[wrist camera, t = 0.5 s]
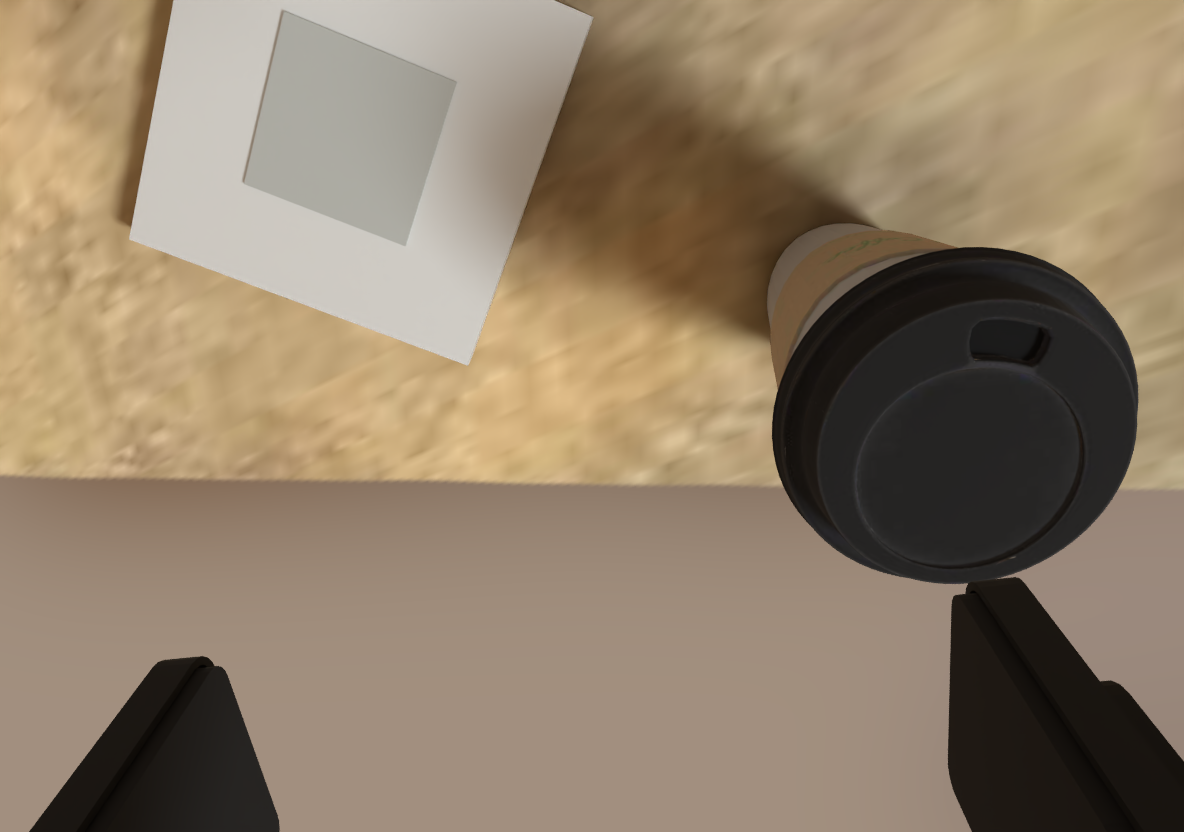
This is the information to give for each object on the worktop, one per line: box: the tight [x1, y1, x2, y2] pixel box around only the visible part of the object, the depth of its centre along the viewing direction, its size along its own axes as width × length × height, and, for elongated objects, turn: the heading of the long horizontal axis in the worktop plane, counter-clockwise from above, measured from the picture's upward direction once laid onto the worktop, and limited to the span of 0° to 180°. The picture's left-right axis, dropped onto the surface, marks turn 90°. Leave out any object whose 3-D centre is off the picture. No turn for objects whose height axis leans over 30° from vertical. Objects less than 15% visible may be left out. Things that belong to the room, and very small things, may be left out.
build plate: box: [129, 0, 593, 366], centre depth 33 cm, size 14×14×1 cm
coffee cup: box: [767, 223, 1138, 584], centre depth 29 cm, size 9×9×15 cm
